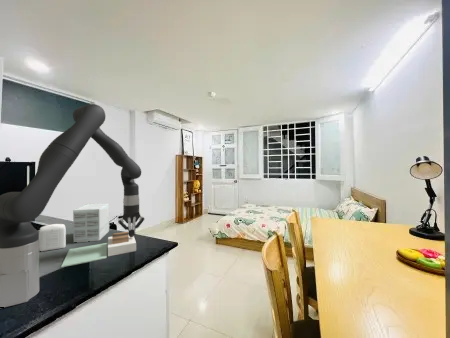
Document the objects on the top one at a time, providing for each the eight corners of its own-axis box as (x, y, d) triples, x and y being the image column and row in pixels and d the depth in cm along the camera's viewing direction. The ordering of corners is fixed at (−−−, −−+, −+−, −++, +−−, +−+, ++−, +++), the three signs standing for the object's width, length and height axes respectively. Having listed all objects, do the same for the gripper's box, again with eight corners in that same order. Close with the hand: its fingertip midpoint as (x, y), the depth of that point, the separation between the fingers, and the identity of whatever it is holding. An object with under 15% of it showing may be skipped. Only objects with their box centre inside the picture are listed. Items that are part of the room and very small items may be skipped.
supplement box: (86, 232, 124) (85, 204, 124) (109, 231, 127) (109, 203, 127) (72, 243, 107) (72, 209, 107) (99, 240, 111) (99, 208, 111)
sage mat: (106, 258, 89) (106, 257, 89) (61, 267, 81) (61, 266, 81) (107, 243, 107) (107, 242, 107) (69, 249, 98) (69, 249, 98)
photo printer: (66, 245, 105) (66, 221, 104) (65, 248, 101) (65, 223, 101) (40, 249, 99) (39, 225, 99) (38, 252, 95) (37, 227, 95)
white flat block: (136, 250, 97) (136, 242, 97) (107, 256, 91) (107, 247, 91) (132, 240, 111) (132, 233, 111) (108, 244, 105) (108, 237, 105)
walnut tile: (128, 241, 99) (128, 236, 99) (112, 244, 95) (112, 239, 95) (127, 236, 107) (127, 231, 107) (112, 238, 103) (112, 233, 103)
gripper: (117, 206, 97) (117, 241, 97) (146, 203, 103) (146, 236, 103) (116, 203, 103) (117, 236, 103) (144, 201, 110) (144, 232, 110)
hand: (131, 236), depth 103 cm, fingers closed
